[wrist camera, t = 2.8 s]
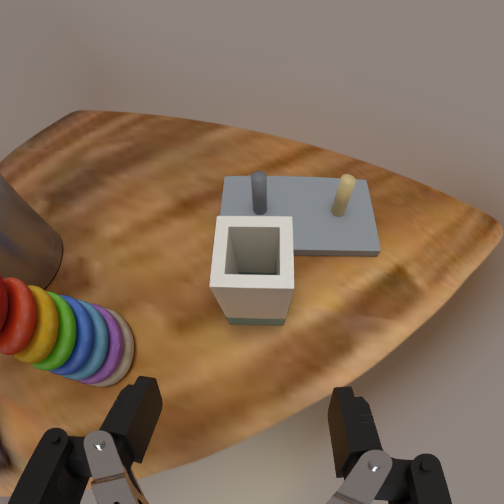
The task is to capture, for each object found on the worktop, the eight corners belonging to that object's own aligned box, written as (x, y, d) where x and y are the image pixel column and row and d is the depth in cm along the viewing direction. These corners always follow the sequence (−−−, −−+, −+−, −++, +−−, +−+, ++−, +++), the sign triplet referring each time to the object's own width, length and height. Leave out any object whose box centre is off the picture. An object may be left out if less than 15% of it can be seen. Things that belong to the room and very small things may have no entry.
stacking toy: (72, 313, 26) (-61, 225, 9) (135, 306, 26) (1, 191, 10) (74, 386, 23) (-84, 345, 6) (140, 387, 23) (-32, 355, 6)
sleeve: (229, 323, 25) (209, 286, 16) (233, 274, 28) (217, 215, 19) (283, 325, 25) (294, 288, 16) (284, 275, 27) (292, 216, 18)
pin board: (218, 254, 29) (207, 220, 23) (226, 183, 33) (218, 143, 27) (376, 256, 28) (399, 224, 22) (363, 186, 32) (377, 149, 26)
